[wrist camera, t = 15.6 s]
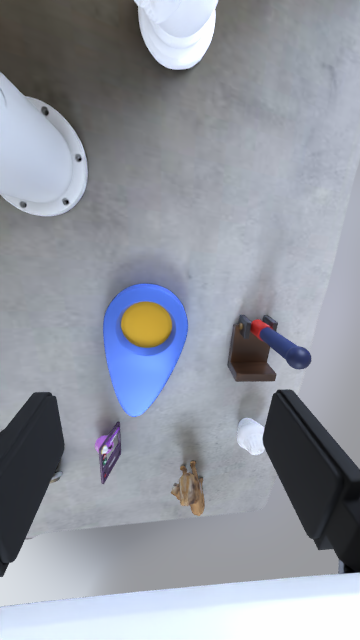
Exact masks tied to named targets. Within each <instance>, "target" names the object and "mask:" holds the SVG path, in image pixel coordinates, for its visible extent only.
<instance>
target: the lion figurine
mask: <svg viewBox="0 0 360 640" xmlns="http://www.w3.org/2000/svg"><path fill="white" fill-rule="evenodd" d="M190 464H191V465H190V466H191V468H192V474H191V473H190V472H189V473H187V469H186V467H185V466H181V467H180V470H182V471H183V475H182V477H181V478H180V479H179V484H176V483H174V487H173V488H172V491H171V494H173V495H175V496H176V497H177V499H178V500H180V503H181V505H182V506H189V505H190V506H191V510H192V513H193V514H194V515H198V516H200V515H201V514H202V513H203V511H204V506H205V505H204V495H203V491H202V482H203V478H199V479H198V475H197V471H196V468H195V464H196V462H195V461H191V462H190Z"/></svg>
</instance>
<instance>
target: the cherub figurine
mask: <svg viewBox="0 0 360 640" xmlns="http://www.w3.org/2000/svg"><path fill="white" fill-rule="evenodd" d="M134 1H135V3H136V4H137V5H138V17H139V25H140V30H141V33H142V37H143V39H144V42H145V44H146V46H147V48H148V49H149V51H150V53H151V54H152V55H153V57H154V58H155V59H156V61H158V62H159V63H160V64H161V65H164V67H166V68H169V69H176V70H180V69H189V68H191V67H193V66H194V65H195V64H197V63H198V62H199V61H200V60H201V58H203V55H204V54H205V52H206V50H207V49H208V46H209V44H210V42H211V39H212V35H213V31H214V25H215V7H216V5H217V3H218V0H134Z"/></svg>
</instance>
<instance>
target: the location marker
mask: <svg viewBox="0 0 360 640" xmlns="http://www.w3.org/2000/svg"><path fill="white" fill-rule="evenodd" d="M187 332H188V321H187V316H186V313H185V309H184V307H183V305H182V303H181V302H180V300H179V299H178V298H177V297H176V296H175V295H174V294H173V293H172V292H171V291H169V290H168V289H166V288H164V287H161V286H158V285H155V284H137V285H133V286H130V287H128V288H126V289H124V290H122V291H121V292H120V293H119V294H118V295H116V297H115V298H114V299H113V300H112V302H111V303H110V305H109V306H108V308H107V310H106V313H105V316H104V323H103V336H104V347H105V353H106V359H107V364H108V369H109V373H110V377H111V381H112V384H113V387H114V390H115V393H116V396H117V398H118V401H119V403H120V405H121V406H122V408H123V410H124V411H125V412H126V413H127V414H128V415H130V416H132V417H136V416H139V415H141V414H142V413H144V412H145V411H146V410H147V409H148V408H149V407H150V406H151V404H152V403H153V402H154V401H155V399H156V398H157V396H158V395H159V393H160V392H161V390H162V389H163V387H164V385H165V384H166V382H167V380H168V379H169V377H170V375H171V373H172V371H173V369H174V367H175V365H176V363H177V361H178V359H179V356H180V354H181V352H182V349H183V346H184V343H185V340H186V337H187Z"/></svg>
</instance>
